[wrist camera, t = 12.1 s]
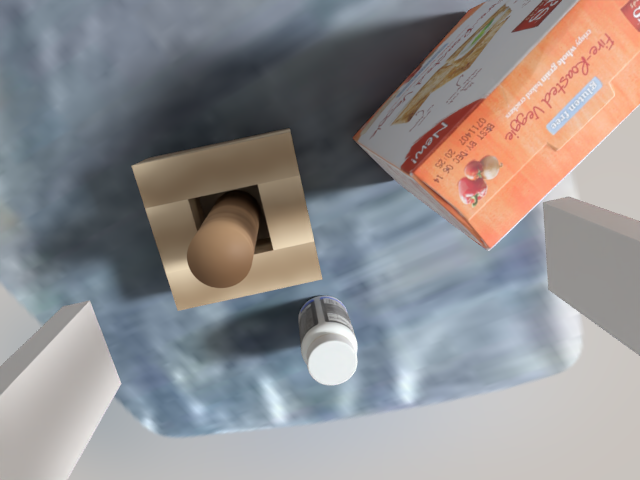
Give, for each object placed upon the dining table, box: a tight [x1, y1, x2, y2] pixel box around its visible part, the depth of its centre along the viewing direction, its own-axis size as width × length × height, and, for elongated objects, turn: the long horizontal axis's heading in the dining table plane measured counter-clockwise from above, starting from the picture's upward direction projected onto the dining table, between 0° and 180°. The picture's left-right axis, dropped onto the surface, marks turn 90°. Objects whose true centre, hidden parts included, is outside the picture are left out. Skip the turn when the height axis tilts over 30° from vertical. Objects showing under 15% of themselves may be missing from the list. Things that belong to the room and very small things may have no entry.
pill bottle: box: [299, 296, 357, 385], centre depth 42 cm, size 5×5×8 cm
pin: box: [187, 190, 261, 288], centre depth 35 cm, size 4×4×12 cm
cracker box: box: [353, 0, 640, 251], centre depth 30 cm, size 14×6×21 cm, turn 137°
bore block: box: [132, 128, 322, 311], centre depth 40 cm, size 12×12×5 cm
